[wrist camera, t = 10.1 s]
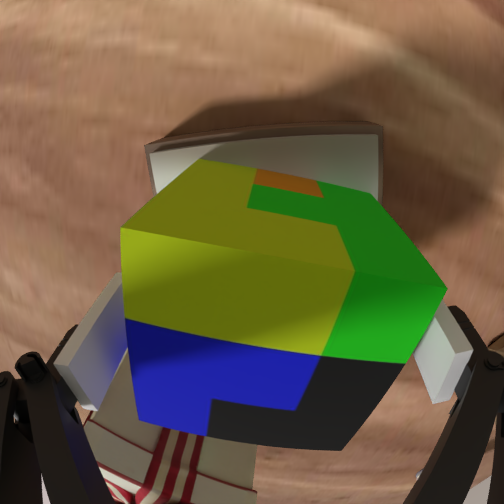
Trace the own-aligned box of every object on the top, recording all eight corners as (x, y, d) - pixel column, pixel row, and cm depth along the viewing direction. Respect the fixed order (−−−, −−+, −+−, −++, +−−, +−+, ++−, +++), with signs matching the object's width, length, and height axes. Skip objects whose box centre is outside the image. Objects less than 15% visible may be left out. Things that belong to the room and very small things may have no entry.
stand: (162, 137, 21) (140, 146, 17) (367, 121, 19) (386, 126, 16) (195, 305, 27) (184, 336, 24) (362, 297, 26) (372, 328, 22)
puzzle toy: (184, 302, 22) (138, 420, 13) (198, 158, 17) (120, 227, 9) (324, 327, 22) (341, 450, 13) (370, 193, 18) (447, 288, 9)
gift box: (104, 300, 28) (10, 448, 13) (271, 382, 31) (262, 543, 16) (80, 384, 35) (28, 489, 20) (204, 442, 38) (183, 551, 23)
